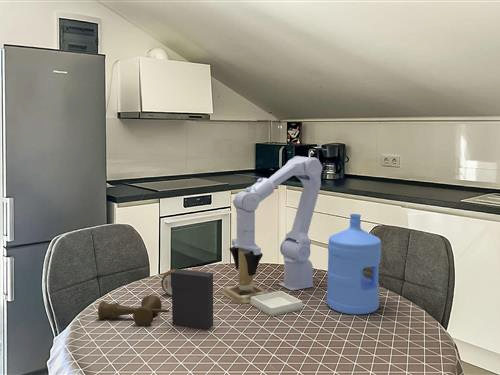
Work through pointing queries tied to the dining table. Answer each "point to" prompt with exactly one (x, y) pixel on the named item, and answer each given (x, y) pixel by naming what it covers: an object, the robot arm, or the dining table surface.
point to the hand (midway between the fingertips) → (245, 271)
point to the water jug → (353, 270)
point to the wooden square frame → (232, 294)
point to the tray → (276, 303)
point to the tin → (168, 282)
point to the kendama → (133, 310)
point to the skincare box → (244, 272)
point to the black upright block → (192, 299)
